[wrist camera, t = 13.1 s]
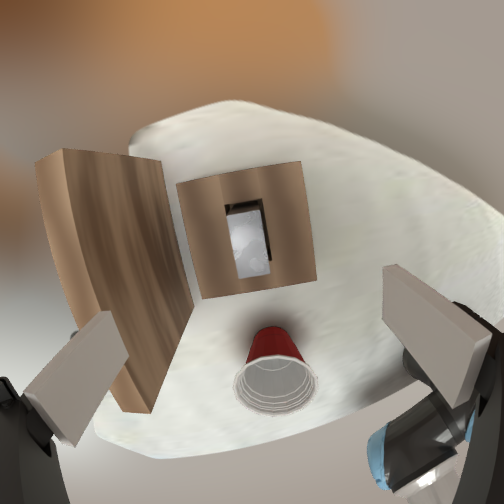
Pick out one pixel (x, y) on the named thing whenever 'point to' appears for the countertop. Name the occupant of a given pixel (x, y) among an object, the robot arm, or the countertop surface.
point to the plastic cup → (275, 376)
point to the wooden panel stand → (161, 249)
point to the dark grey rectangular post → (248, 239)
